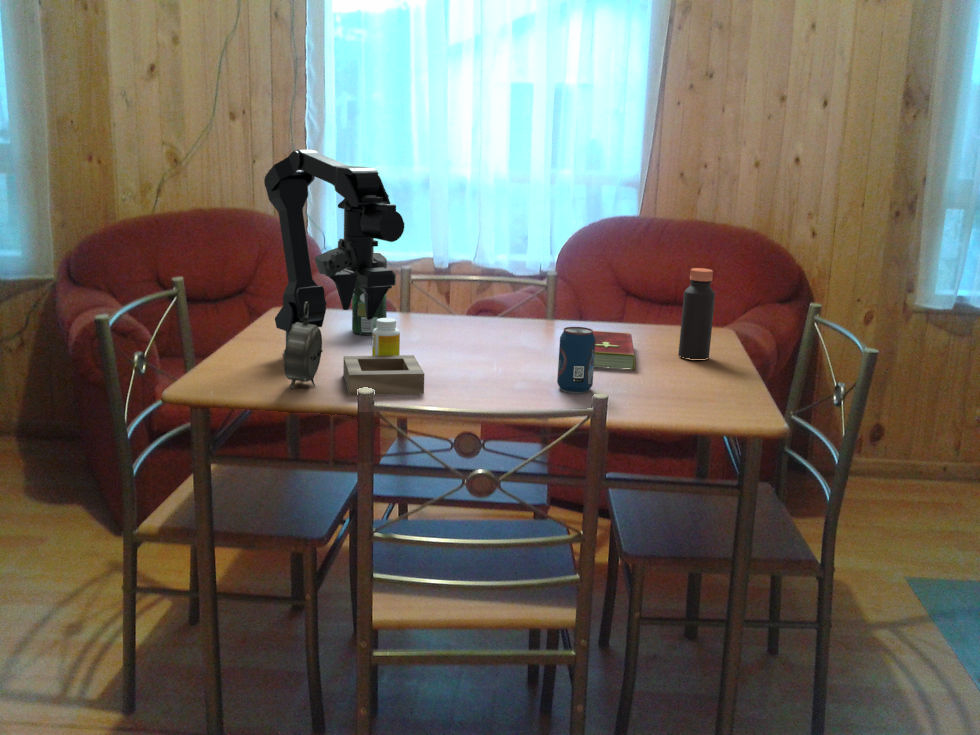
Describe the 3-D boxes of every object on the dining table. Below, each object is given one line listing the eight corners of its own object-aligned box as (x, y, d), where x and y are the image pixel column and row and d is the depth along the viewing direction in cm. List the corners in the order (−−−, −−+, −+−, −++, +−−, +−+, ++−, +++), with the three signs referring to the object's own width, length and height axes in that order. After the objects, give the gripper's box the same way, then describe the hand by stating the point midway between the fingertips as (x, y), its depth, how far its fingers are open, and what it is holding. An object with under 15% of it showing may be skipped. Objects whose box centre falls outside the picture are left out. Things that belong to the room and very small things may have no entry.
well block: (343, 375, 201) (343, 356, 200) (413, 374, 204) (413, 355, 203) (349, 395, 188) (349, 374, 187) (423, 393, 191) (424, 373, 190)
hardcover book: (631, 349, 235) (632, 331, 234) (634, 372, 215) (635, 353, 214) (579, 346, 236) (580, 328, 235) (577, 368, 216) (579, 349, 215)
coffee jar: (356, 326, 245) (356, 249, 240) (388, 327, 244) (389, 251, 240) (348, 335, 235) (348, 255, 231) (382, 336, 235) (383, 257, 230)
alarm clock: (298, 376, 199) (300, 295, 195) (325, 379, 198) (328, 298, 194) (281, 391, 188) (283, 305, 184) (309, 394, 188) (312, 308, 184)
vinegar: (672, 355, 229) (679, 267, 224) (695, 353, 232) (704, 266, 227) (690, 362, 223) (699, 272, 218) (715, 360, 226) (724, 271, 221)
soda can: (554, 384, 202) (558, 325, 198) (589, 384, 202) (593, 326, 199) (559, 394, 195) (563, 333, 192) (594, 394, 195) (599, 334, 192)
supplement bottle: (404, 369, 208) (405, 320, 205) (384, 373, 204) (385, 323, 201) (386, 363, 212) (387, 315, 209) (366, 367, 208) (366, 319, 205)
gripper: (298, 229, 195) (297, 308, 200) (345, 243, 181) (344, 328, 185) (348, 227, 202) (347, 304, 206) (398, 241, 188) (396, 323, 192)
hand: (357, 314), depth 197 cm, fingers open, 9 cm apart
